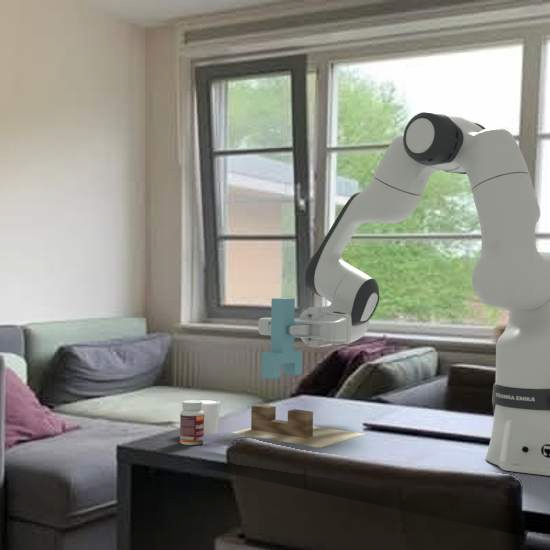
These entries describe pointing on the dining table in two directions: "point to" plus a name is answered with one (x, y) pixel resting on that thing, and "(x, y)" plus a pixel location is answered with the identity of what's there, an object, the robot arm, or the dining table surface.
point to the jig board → (312, 441)
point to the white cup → (210, 416)
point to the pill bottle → (191, 422)
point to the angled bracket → (281, 342)
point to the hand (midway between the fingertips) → (280, 329)
